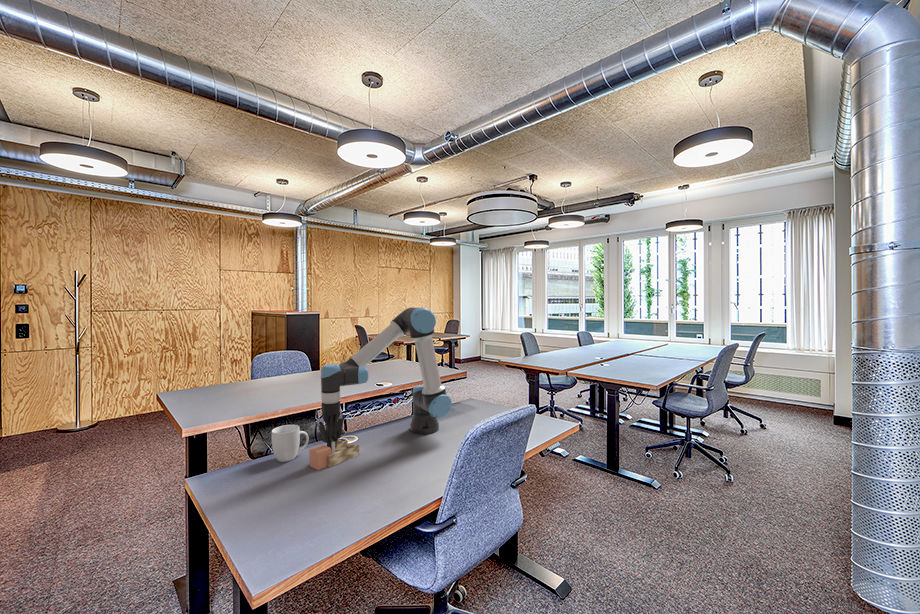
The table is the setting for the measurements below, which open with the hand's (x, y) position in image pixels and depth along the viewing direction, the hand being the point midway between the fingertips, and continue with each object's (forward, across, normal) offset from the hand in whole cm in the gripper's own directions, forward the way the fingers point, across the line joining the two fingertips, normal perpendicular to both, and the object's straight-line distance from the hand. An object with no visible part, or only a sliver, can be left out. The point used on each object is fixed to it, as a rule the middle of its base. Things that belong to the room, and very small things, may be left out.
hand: (331, 456), depth 158 cm
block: (+2, +6, 0) cm, 6 cm away
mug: (+2, +9, -18) cm, 20 cm away
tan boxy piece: (+2, -3, 0) cm, 3 cm away
